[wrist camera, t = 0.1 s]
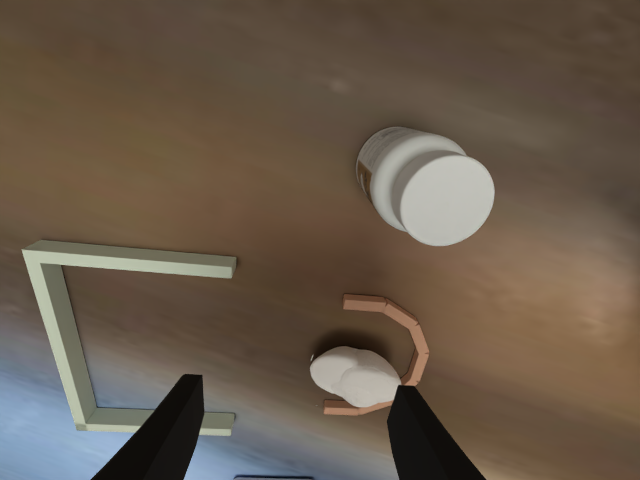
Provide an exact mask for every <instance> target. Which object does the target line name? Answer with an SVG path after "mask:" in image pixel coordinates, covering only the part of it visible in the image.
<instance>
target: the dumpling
mask: <svg viewBox="0 0 640 480" xmlns="http://www.w3.org/2000/svg"><path fill="white" fill-rule="evenodd" d="M313 355H314V354H313ZM313 355H312V358H313ZM312 358H311V361H312ZM310 372H311V376H312V378H313V380H314V382H315V383H316V384H317V385H318V386H319V387H321V388H322V389H324V390H326V391H328V392H330V393H332V394H333V393H335V394H337V395H339V396H341V397H343V398H344V399H345V400H346V401H347V402H348V403H350V404H352V405H353V406H356V407H370V406H372V405H375V404H377V403H383V402H389V401H392V400H394V397H395V394H396V390H397V387H398V385H401V380H400V378H399V376H398V374H397V373H396V371H395V370H394V368H393V367H392V366H391V365H390V364H389V363H388V362H387V361H386V360H385V359H384V358H383V357H381V356H380V355H378V354H376V353H374V352H372V351H369V350H359V349H356V348H352V347H348V346H340V347H336V348H333V349H331V350H329V351H327V352H325V353H323V354H322V355H320V356H319V357H318V358H316V359H315V360H314V361H313V362H312V364H311V367H310ZM316 406H317V405H316Z"/></svg>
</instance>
